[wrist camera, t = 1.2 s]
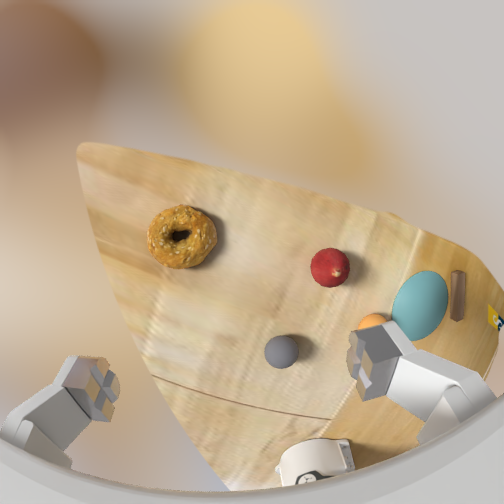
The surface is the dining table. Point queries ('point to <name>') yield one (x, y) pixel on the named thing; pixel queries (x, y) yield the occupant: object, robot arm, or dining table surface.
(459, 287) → the wall
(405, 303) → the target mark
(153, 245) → the bagel
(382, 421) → the dining table surface
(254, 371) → the dining table surface
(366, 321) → the orange ball
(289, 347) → the grey rubber ball
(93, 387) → the robot arm
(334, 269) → the onion
